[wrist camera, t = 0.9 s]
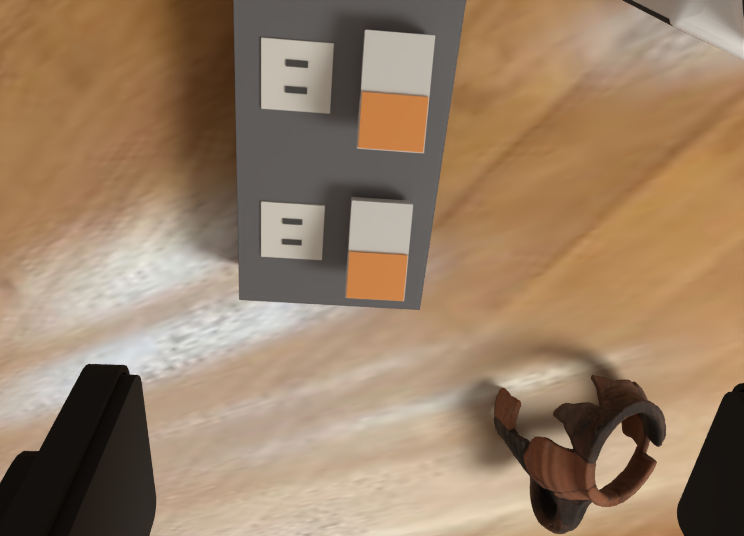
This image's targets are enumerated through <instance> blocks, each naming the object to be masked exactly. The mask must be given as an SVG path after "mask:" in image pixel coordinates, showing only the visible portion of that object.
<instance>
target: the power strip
mask: <svg viewBox="0 0 744 536" xmlns="http://www.w3.org/2000/svg"><path fill="white" fill-rule="evenodd" d="M233 4H234V55H235V107H236V158H237V209H238V261H239V300H251V301H269V302H287V303H305V304H323V305H341V306H359V307H377V308H395V309H413V310H420V304H421V298H422V291H423V284H424V278H425V271H426V264H427V258H428V251H429V244H430V238H431V231H432V224H433V218H434V211H435V204H436V198H437V191H438V184H439V178H440V171H441V164H442V157H443V151H444V144H445V137H446V131H447V124H448V117H449V111H450V104H451V97H452V91H453V84H454V77H455V71H456V64H457V57H458V51H459V44H460V37H461V31H462V24H463V17H464V11H465V4H466V0H233ZM365 30H375V31H387V32H399V33H411V34H423V35H435V44H434V54H433V65H432V75H431V85H430V96H429V106H428V116H427V127H426V137H425V147H424V153H411V152H398V151H384V150H370V149H357V147H356V145H357V130H358V116H359V101H360V87H361V72H362V58H363V43H364V31H365ZM351 197H362V198H377V199H392V200H407V201H411V202H412V203H413V212H412V223H411V233H410V244H409V255H408V265H407V276H406V286H405V297H404V301H390V300H373V299H355V298H345V284H346V270H347V255H348V241H349V226H350V211H351Z"/></svg>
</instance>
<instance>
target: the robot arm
mask: <svg viewBox="0 0 744 536" xmlns="http://www.w3.org/2000/svg"><path fill="white" fill-rule="evenodd" d="M155 511H156V492H155V484H154V476H153V468H152V460H151V453H150V445H149V437H148V429H147V421H146V413H145V405H144V397H143V389H142V382H141V378H140V376H139V375H130V374H129V370H128V368H127V366H125V365H106V364H88V365H86V366H85V367H84V368H83V370H82V372H81V373H80V375H79V377H78V379H77V381H76V383H75V385H74V387H73V388H72V390H71V392H70V394H69V396H68V398H67V400H66V401H65V403H64V405H63V407H62V409H61V411H60V413H59V414H58V416H57V418H56V420H55V422H54V424H53V426H52V428H51V429H50V431H49V433H48V435H47V437H46V439H45V441H44V442H43V444H42V446H41V448H40V450H39V451H23V452H22V453H20V454H19V455H17V457H16V458H15V459H14V461H13V462H12V464H11V465H10V467H9V469H8V470H7V472H6V474H5V476H4V477H3V479H2V481H1V483H0V536H149V535H150V532H151V528H152V525H153V521H154V517H155ZM677 518H678V523H679V526H680V528H681V530H682V532H683V534H684V536H744V383H741V384H738V385H737V386H735V387H734V389H733V391H732V392H728V393H726V394H725V395H724V397H723V399H722V401H721V404H720V406H719V408H718V411H717V413H716V415H715V418H714V420H713V423H712V425H711V427H710V430H709V432H708V435H707V437H706V439H705V442H704V444H703V446H702V449H701V451H700V454H699V456H698V458H697V461H696V463H695V466H694V468H693V470H692V473H691V475H690V477H689V480H688V482H687V485H686V487H685V489H684V492H683V494H682V497H681V499H680V501H679V504H678V507H677Z"/></svg>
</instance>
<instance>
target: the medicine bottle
mask: <svg viewBox="0 0 744 536" xmlns="http://www.w3.org/2000/svg"><path fill="white" fill-rule="evenodd" d="M623 1H625V2H627V3H629V4H631V5H633V6H635V7H636V8H638V9H640V10H642V11H644V12H646V13H648V14H650V15H652V16H654V17H656V18H658V19H660V20H662V21H664V22H665V23H667V24H669V25H671V26H673V27H675V28H677V29H680V30H682V31H684V32H686V33H688V34H690V35H692V36H694V37H696V38H698V39H700V40H703V41H705V42H707V43H709V44H711V45H713V46H715V47H717V48H719V49H721V50H723V51H726V52H728V53H730V54H732V55H734V56H736V57H738V58H740V59H742V60H744V0H623Z"/></svg>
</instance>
